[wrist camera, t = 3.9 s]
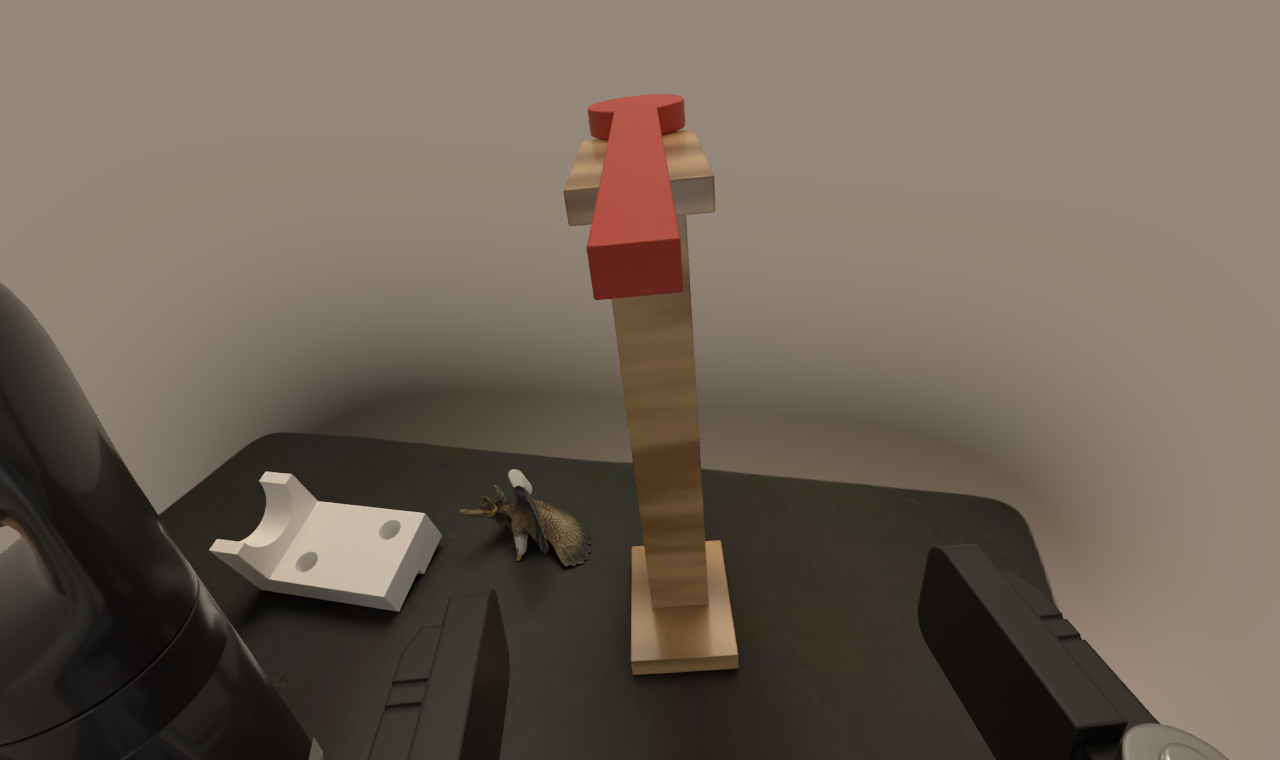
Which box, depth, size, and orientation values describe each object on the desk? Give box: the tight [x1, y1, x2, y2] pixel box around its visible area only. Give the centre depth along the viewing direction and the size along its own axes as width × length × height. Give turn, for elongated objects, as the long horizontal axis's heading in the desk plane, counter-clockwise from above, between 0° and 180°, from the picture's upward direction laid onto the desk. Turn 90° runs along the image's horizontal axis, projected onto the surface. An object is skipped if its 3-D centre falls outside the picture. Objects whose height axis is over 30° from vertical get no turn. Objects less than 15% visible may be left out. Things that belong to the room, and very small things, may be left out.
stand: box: [564, 129, 738, 675], centre depth 37 cm, size 10×7×32 cm
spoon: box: [587, 94, 685, 300], centre depth 25 cm, size 25×5×1 cm, turn 0°
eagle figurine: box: [460, 469, 591, 566], centre depth 51 cm, size 8×7×9 cm
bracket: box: [209, 472, 442, 612], centre depth 50 cm, size 13×7×8 cm, turn 76°
